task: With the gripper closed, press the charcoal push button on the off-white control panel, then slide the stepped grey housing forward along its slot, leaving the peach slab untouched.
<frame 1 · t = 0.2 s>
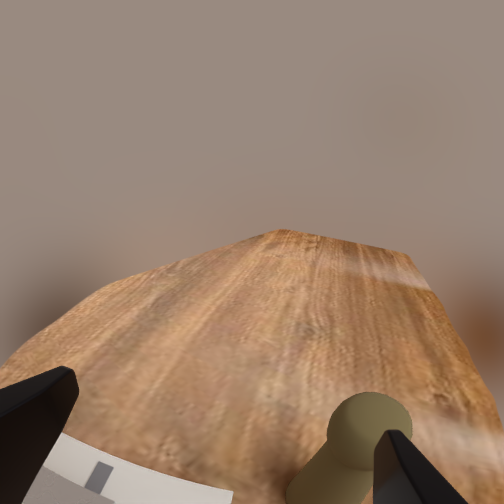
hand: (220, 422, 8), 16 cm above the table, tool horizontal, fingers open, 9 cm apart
olive pawn: (322, 498, 19), on the table
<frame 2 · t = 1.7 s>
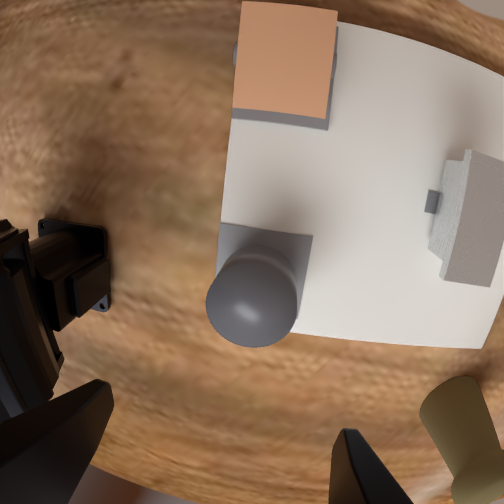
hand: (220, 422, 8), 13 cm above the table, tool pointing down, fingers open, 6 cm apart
peach slab: (285, 58, 12), point 5 cm above the table, hinge at 12.0°
olive pawn: (449, 401, 22), on the table
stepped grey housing: (467, 214, 13), point 4 cm above the table, slide at 0.0 cm
button: (254, 294, 15), point 5 cm above the table, slide at 0.0 cm
panel: (391, 191, 18), on the table
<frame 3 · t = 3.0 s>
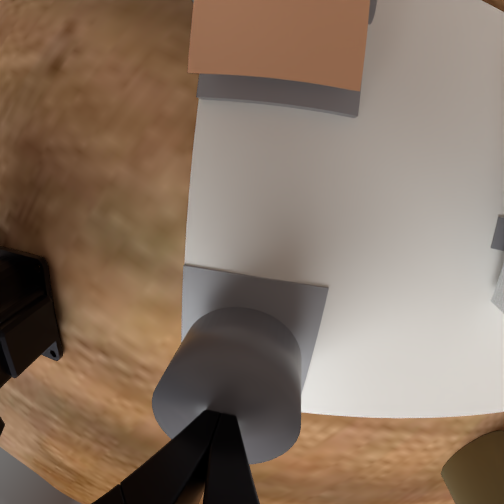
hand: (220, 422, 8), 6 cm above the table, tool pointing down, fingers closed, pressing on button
olive pawn: (476, 455, 16), on the table
button: (233, 388, 9), point 5 cm above the table, slide at 0.0 cm, touching gripper
panel: (442, 213, 11), on the table
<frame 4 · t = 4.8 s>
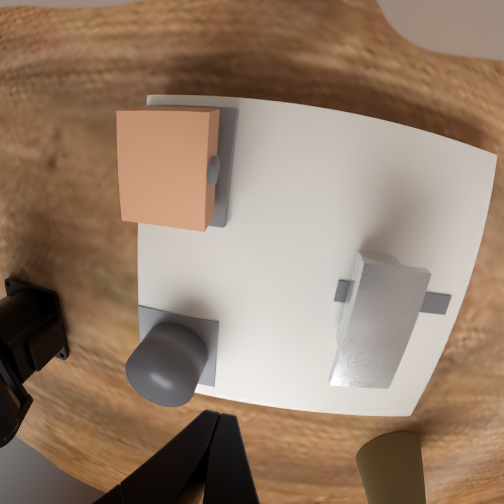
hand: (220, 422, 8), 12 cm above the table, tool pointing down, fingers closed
peach slab: (166, 165, 13), point 4 cm above the table, hinge at 12.0°
olive pawn: (387, 450, 23), on the table
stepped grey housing: (371, 314, 14), point 4 cm above the table, slide at 0.0 cm
button: (167, 364, 17), point 4 cm above the table, slide at 1.1 cm
panel: (307, 272, 19), on the table
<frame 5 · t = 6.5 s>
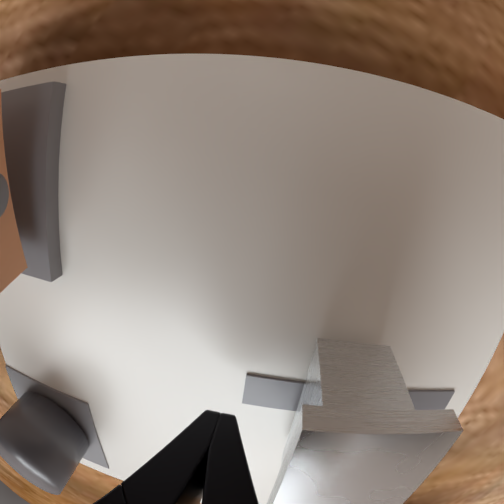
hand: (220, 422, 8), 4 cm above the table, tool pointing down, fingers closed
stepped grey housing: (334, 456, 7), point 4 cm above the table, slide at 1.1 cm, touching gripper
button: (38, 444, 10), point 4 cm above the table, slide at 1.1 cm
panel: (210, 343, 11), on the table
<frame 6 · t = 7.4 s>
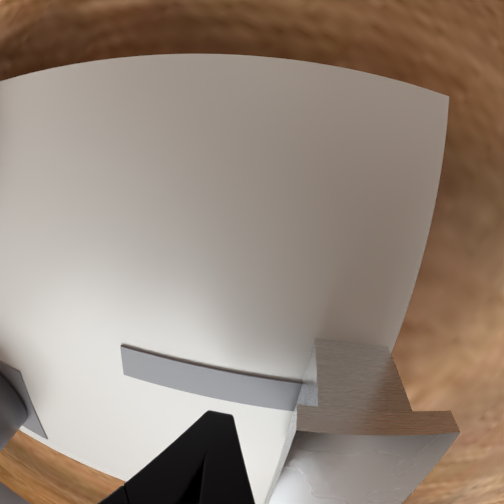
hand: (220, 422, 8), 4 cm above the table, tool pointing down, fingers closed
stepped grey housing: (331, 456, 7), point 4 cm above the table, slide at 5.1 cm, touching gripper
panel: (112, 320, 12), on the table
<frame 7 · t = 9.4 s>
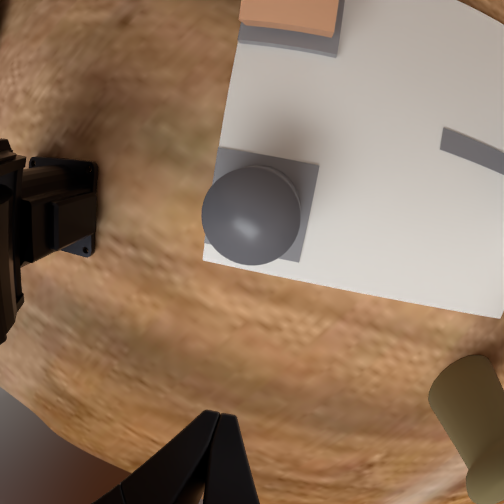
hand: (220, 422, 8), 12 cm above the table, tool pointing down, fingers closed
olive pawn: (460, 384, 20), on the table
button: (254, 211, 14), point 4 cm above the table, slide at 1.1 cm
panel: (404, 131, 16), on the table
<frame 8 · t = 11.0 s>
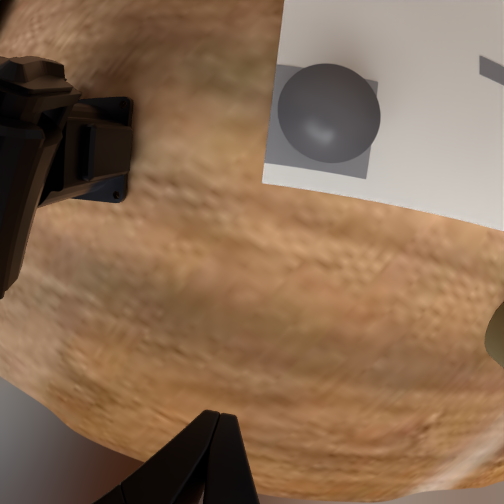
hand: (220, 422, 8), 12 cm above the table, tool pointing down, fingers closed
button: (326, 116, 13), point 4 cm above the table, slide at 1.1 cm
panel: (443, 63, 14), on the table
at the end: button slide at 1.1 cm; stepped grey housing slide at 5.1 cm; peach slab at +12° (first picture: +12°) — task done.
